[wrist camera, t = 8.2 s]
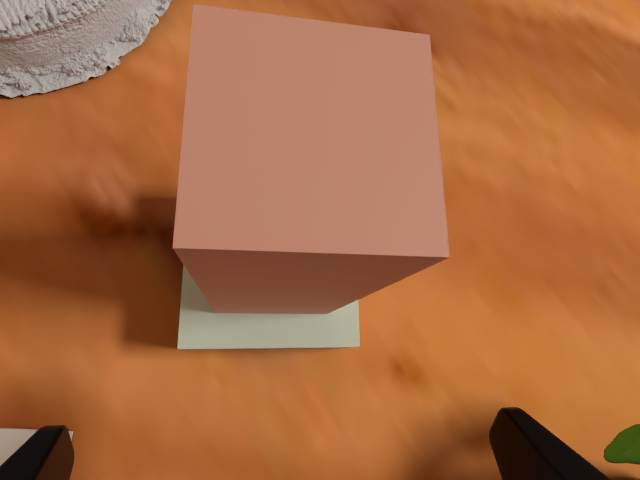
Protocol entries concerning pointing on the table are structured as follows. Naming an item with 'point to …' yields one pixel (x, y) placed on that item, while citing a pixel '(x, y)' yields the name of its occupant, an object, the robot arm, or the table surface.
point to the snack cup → (625, 447)
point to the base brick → (261, 326)
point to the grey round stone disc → (68, 40)
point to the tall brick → (306, 162)
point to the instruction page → (14, 440)
